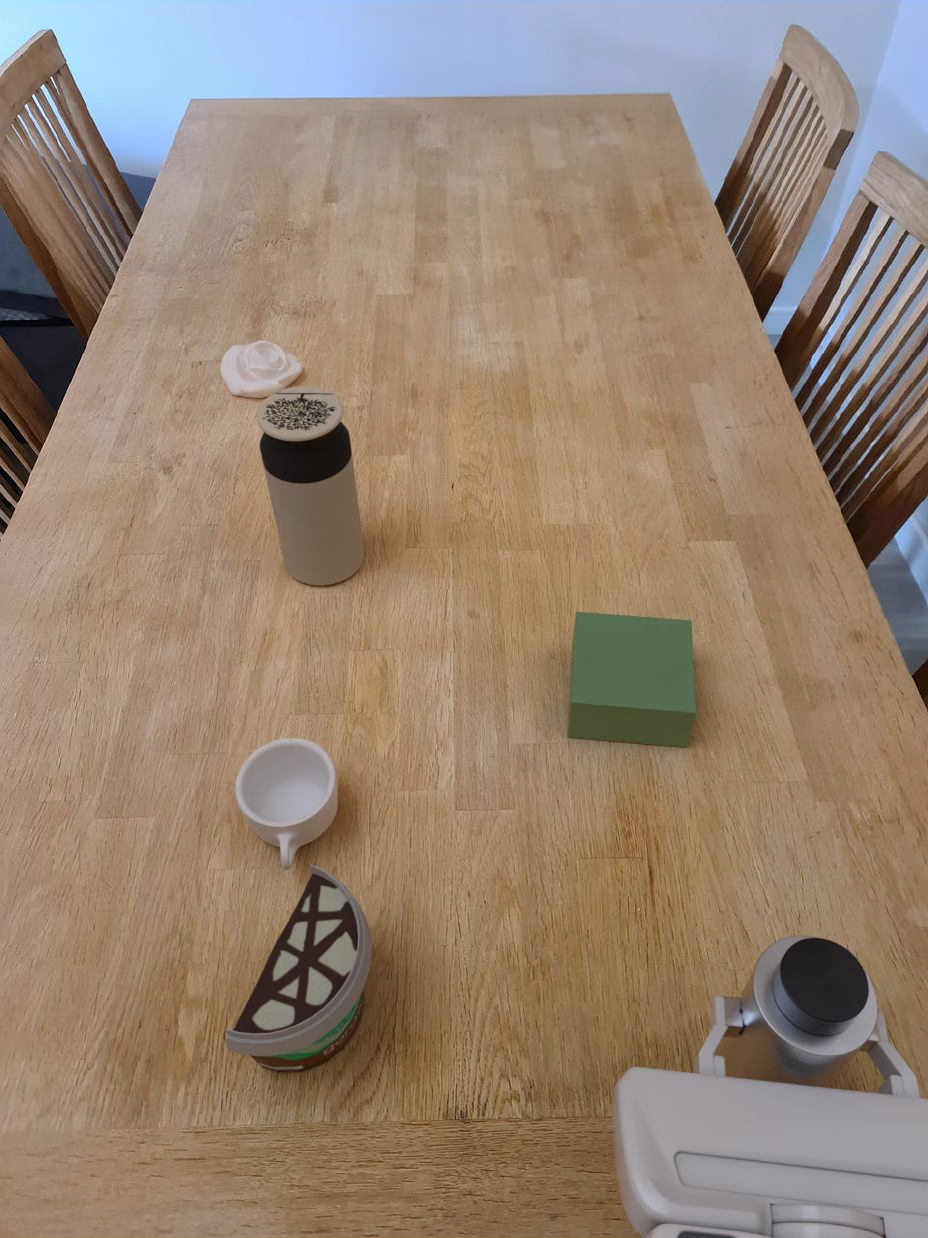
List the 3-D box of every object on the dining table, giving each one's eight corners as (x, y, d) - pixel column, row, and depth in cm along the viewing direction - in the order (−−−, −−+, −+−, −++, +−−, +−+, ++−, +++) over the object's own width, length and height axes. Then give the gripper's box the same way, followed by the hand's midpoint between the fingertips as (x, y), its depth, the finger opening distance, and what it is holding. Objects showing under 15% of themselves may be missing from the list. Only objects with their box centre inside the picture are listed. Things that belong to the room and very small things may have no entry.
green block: (682, 656, 88) (691, 619, 84) (686, 748, 81) (696, 712, 78) (572, 647, 89) (576, 611, 85) (567, 737, 82) (571, 702, 79)
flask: (814, 1020, 62) (878, 925, 52) (827, 1129, 58) (900, 1049, 47) (712, 1009, 63) (755, 913, 52) (718, 1116, 58) (766, 1035, 48)
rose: (212, 328, 117) (292, 317, 119) (219, 360, 120) (297, 348, 122) (219, 375, 111) (303, 362, 112) (226, 407, 114) (308, 394, 115)
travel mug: (353, 592, 94) (331, 443, 80) (274, 582, 95) (240, 433, 81) (373, 536, 99) (356, 387, 86) (298, 527, 100) (269, 379, 87)
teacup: (250, 778, 80) (238, 741, 76) (344, 772, 80) (336, 734, 76) (241, 891, 73) (227, 857, 69) (343, 883, 74) (335, 849, 70)
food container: (335, 1125, 63) (315, 1077, 55) (251, 1090, 64) (220, 1038, 57) (408, 950, 70) (399, 886, 63) (331, 922, 72) (313, 857, 64)
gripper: (1088, 1322, 43) (1007, 1005, 52) (618, 1261, 45) (620, 966, 54) (1029, 1338, 47) (964, 1045, 56) (606, 1283, 49) (610, 1008, 58)
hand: (793, 1006), depth 55 cm, fingers closed on flask, 6 cm apart
